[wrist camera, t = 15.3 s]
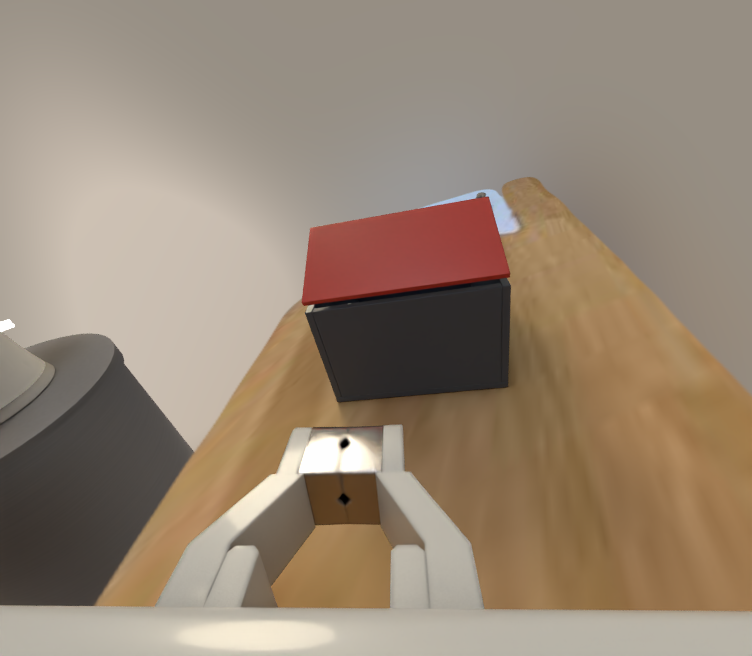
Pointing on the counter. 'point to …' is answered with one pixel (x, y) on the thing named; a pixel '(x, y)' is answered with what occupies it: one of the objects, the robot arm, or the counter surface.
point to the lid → (404, 252)
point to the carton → (415, 341)
